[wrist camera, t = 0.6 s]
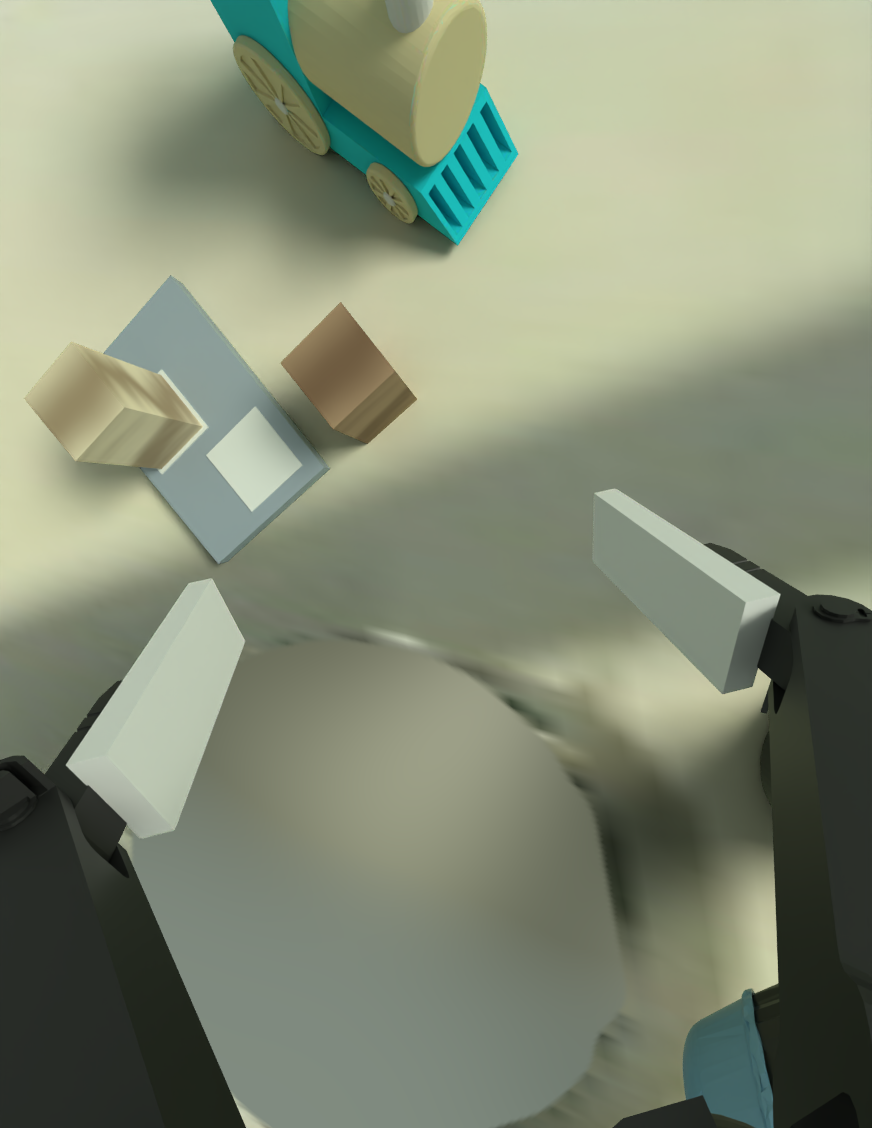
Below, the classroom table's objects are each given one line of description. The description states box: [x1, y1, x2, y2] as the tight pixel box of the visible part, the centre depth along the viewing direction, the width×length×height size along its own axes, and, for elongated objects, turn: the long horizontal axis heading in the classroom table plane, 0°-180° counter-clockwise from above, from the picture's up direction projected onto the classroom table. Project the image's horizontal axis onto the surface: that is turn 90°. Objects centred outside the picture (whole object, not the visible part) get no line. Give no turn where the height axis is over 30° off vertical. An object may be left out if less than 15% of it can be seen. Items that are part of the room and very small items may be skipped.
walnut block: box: [281, 302, 417, 444], centre depth 28 cm, size 5×5×7 cm
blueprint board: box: [103, 275, 330, 564], centre depth 33 cm, size 18×12×1 cm, turn 39°
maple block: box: [24, 342, 203, 469], centre depth 29 cm, size 5×5×7 cm
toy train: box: [211, 0, 518, 245], centre depth 22 cm, size 8×17×15 cm, turn 52°
